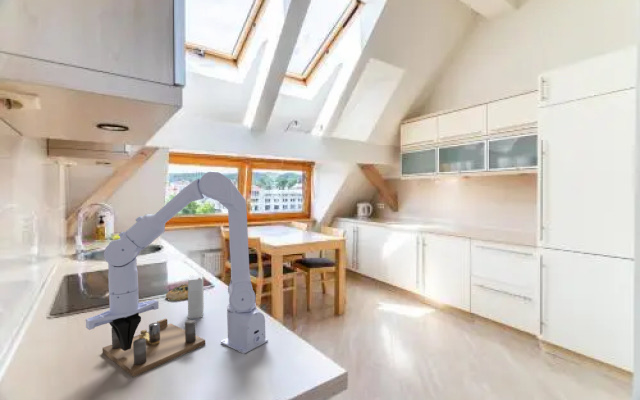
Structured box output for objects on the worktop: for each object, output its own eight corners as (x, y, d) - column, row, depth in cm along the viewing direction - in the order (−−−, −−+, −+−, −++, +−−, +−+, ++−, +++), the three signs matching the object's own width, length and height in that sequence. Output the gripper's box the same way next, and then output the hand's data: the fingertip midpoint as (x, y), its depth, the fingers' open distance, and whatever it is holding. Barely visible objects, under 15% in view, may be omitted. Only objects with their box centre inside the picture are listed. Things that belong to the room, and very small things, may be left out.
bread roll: (189, 289, 125) (189, 277, 125) (204, 298, 118) (204, 286, 117) (160, 297, 117) (160, 284, 116) (174, 308, 110) (174, 295, 109)
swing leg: (138, 338, 81) (137, 319, 81) (147, 334, 83) (147, 316, 83) (152, 346, 77) (151, 327, 76) (162, 343, 78) (161, 323, 78)
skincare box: (189, 312, 102) (188, 274, 101) (204, 310, 103) (203, 273, 102) (187, 319, 96) (186, 280, 95) (203, 317, 97) (202, 278, 97)
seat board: (205, 344, 80) (204, 321, 80) (133, 376, 66) (132, 349, 66) (171, 327, 90) (170, 306, 90) (102, 352, 77) (101, 328, 76)
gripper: (148, 280, 81) (150, 332, 81) (79, 295, 69) (82, 356, 70) (162, 284, 76) (163, 339, 77) (91, 302, 65) (94, 367, 65)
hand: (126, 348), depth 73 cm, fingers closed
